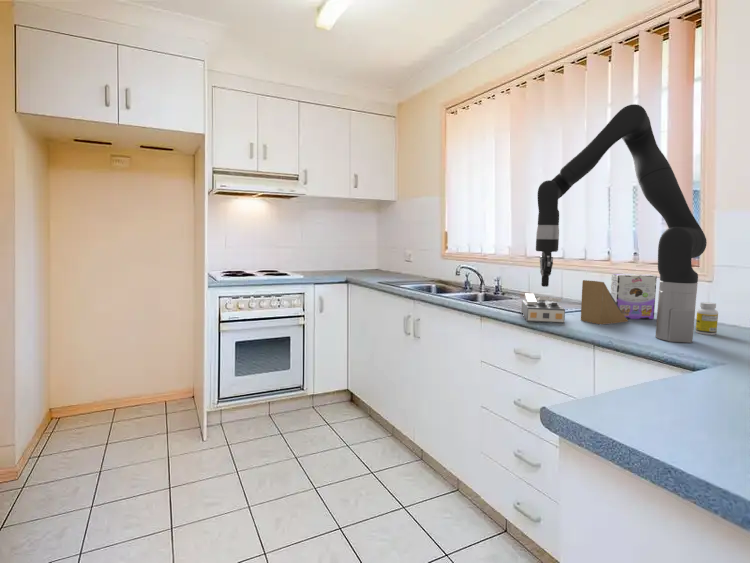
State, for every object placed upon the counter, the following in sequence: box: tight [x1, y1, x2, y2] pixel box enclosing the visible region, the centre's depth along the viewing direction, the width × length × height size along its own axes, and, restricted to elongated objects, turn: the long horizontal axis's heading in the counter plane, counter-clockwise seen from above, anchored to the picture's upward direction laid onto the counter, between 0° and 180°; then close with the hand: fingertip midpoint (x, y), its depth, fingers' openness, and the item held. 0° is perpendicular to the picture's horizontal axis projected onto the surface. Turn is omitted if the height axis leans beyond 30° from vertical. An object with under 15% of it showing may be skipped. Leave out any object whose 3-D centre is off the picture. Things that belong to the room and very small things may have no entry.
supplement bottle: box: [695, 301, 719, 336], centre depth 141 cm, size 5×5×10 cm
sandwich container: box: [580, 279, 629, 325], centre depth 160 cm, size 9×15×15 cm, turn 116°
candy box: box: [610, 273, 657, 320], centre depth 167 cm, size 14×6×16 cm, turn 84°
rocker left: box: [524, 293, 537, 305], centre depth 165 cm, size 9×3×1 cm, turn 168°
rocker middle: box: [535, 296, 550, 302], centre depth 164 cm, size 9×3×1 cm, turn 168°
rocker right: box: [549, 297, 563, 303], centre depth 163 cm, size 9×3×1 cm, turn 168°
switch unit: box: [520, 300, 566, 324], centre depth 164 cm, size 19×12×6 cm, turn 168°
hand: (544, 286), depth 160 cm, fingers closed
